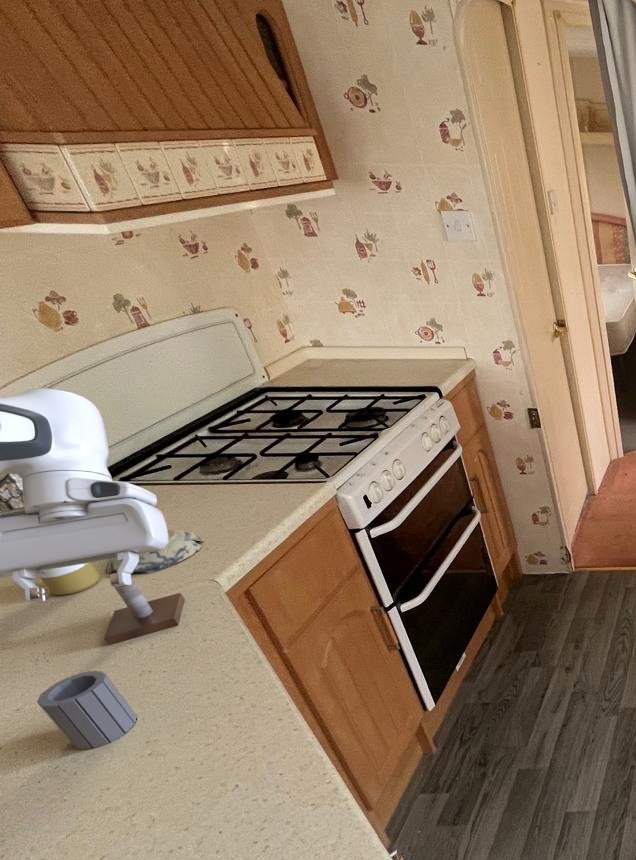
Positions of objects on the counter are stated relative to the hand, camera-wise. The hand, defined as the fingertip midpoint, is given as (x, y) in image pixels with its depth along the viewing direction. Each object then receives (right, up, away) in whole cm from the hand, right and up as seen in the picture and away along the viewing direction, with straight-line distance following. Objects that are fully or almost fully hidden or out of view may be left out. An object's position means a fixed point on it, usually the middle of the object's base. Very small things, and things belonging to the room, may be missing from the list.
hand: (80, 593), depth 94 cm
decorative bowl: (-26, +4, +39) cm, 47 cm away
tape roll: (+5, -19, -2) cm, 20 cm away
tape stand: (-10, -6, +20) cm, 23 cm away
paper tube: (-33, -1, +30) cm, 44 cm away
